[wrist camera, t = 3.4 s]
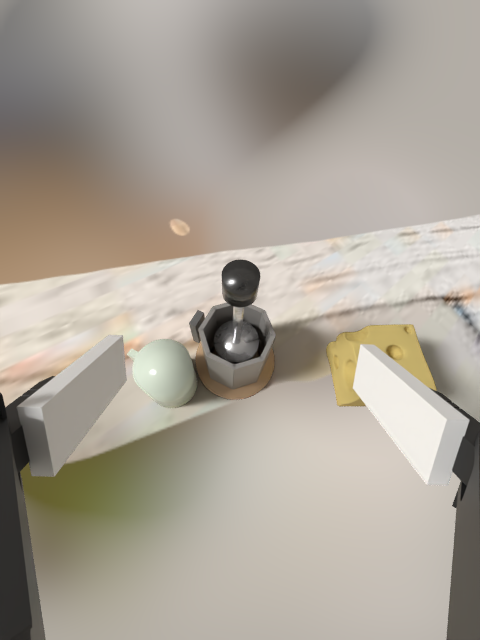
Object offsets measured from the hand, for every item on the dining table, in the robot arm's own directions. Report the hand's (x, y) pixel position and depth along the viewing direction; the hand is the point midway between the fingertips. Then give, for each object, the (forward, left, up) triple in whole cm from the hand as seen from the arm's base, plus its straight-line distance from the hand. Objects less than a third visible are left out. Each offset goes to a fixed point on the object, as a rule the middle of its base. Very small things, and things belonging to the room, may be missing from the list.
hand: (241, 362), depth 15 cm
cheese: (-17, +15, -30) cm, 38 cm away
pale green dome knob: (-2, -13, -30) cm, 32 cm away
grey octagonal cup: (-10, -5, -30) cm, 32 cm away
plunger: (-10, -5, -22) cm, 25 cm away
